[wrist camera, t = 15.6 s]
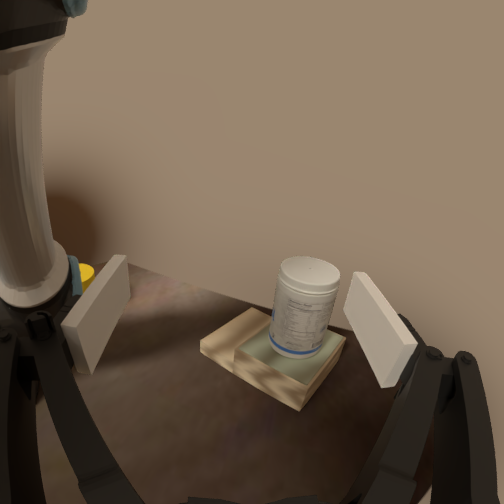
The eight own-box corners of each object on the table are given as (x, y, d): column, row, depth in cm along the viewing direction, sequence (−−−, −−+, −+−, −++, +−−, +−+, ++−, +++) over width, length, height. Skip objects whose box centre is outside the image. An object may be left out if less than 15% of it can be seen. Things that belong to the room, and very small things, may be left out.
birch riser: (200, 351, 54) (200, 326, 51) (250, 317, 66) (253, 294, 63) (299, 411, 42) (308, 387, 40) (338, 360, 54) (346, 336, 52)
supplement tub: (270, 323, 54) (281, 251, 49) (320, 330, 53) (337, 259, 48) (264, 357, 46) (277, 278, 40) (321, 365, 45) (345, 288, 39)
